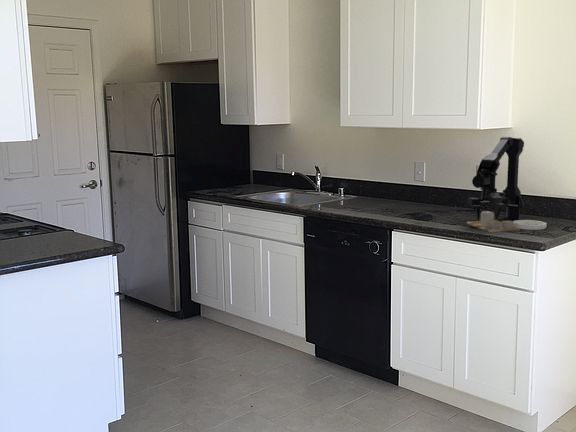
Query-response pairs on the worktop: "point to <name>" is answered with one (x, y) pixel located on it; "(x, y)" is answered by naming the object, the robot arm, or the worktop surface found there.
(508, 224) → the grey cubic piece
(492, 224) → the grey piece
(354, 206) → the worktop surface
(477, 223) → the tray
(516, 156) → the robot arm
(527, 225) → the bowl
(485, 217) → the grey rectangular block
